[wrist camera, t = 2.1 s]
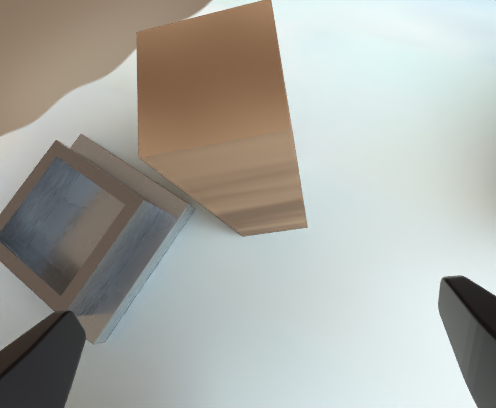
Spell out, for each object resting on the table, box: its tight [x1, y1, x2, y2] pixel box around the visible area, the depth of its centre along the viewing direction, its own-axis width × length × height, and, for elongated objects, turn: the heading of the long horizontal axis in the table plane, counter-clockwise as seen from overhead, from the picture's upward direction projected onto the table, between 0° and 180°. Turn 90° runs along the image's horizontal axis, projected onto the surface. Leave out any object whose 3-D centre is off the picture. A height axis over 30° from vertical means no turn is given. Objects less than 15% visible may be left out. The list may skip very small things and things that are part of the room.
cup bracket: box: [0, 134, 195, 344], centre depth 22 cm, size 10×10×4 cm
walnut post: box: [137, 0, 307, 236], centre depth 15 cm, size 4×4×13 cm
